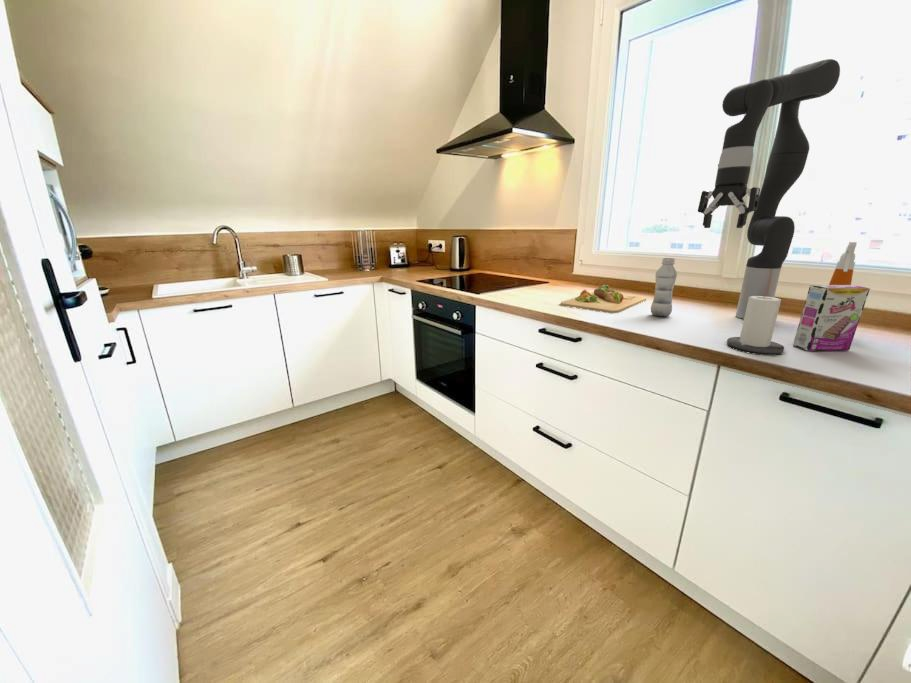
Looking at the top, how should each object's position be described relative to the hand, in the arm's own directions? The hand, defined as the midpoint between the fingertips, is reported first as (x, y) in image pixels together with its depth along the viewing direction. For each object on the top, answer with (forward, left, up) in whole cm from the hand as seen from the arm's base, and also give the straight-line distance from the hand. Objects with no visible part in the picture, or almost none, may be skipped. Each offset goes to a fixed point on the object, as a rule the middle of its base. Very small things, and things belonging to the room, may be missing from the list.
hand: (722, 227), depth 110 cm
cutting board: (-9, -44, -31) cm, 54 cm away
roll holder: (+9, +17, -30) cm, 36 cm away
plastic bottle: (-5, -17, -30) cm, 35 cm away
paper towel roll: (+9, +17, -29) cm, 35 cm away
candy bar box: (-4, +27, -30) cm, 41 cm away
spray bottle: (-22, +23, -30) cm, 44 cm away
